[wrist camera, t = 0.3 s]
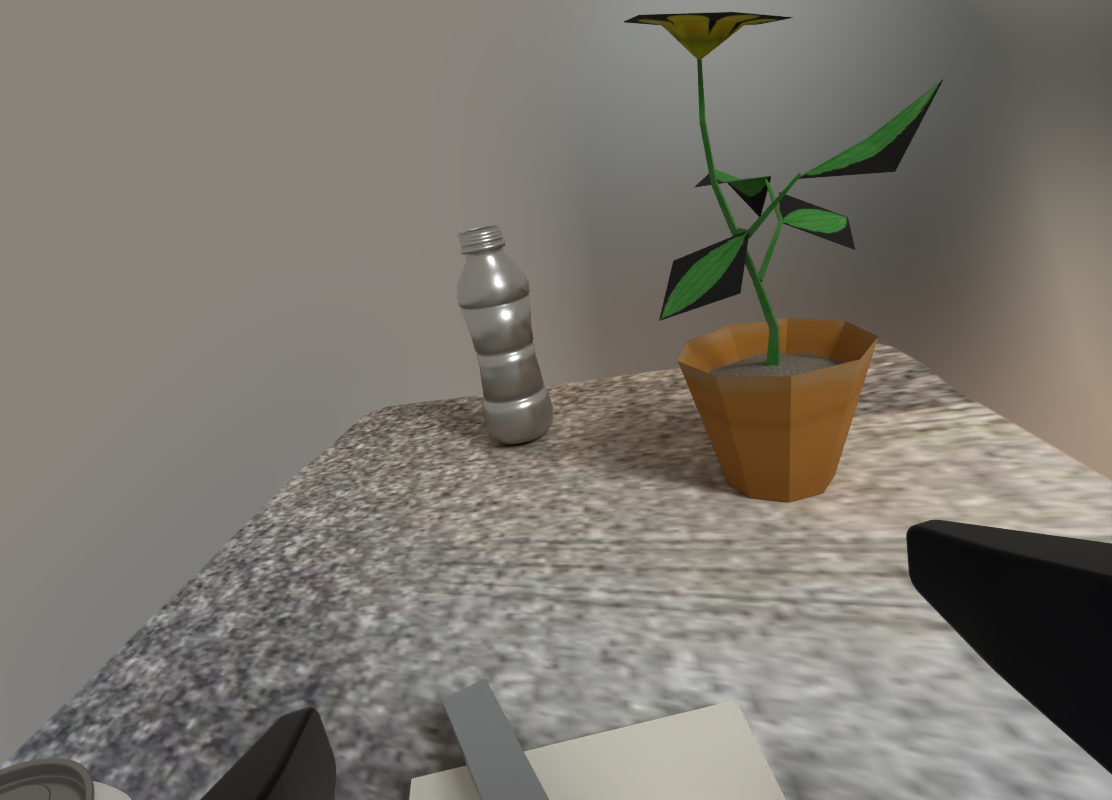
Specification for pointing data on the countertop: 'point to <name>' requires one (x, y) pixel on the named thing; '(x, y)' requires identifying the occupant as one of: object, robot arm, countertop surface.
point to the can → (53, 782)
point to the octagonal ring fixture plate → (602, 759)
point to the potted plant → (775, 344)
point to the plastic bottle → (502, 338)
